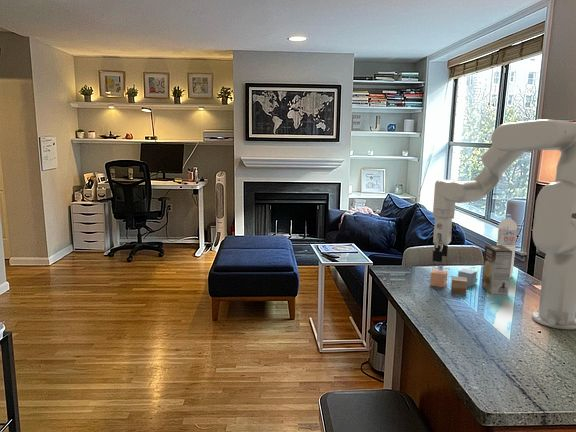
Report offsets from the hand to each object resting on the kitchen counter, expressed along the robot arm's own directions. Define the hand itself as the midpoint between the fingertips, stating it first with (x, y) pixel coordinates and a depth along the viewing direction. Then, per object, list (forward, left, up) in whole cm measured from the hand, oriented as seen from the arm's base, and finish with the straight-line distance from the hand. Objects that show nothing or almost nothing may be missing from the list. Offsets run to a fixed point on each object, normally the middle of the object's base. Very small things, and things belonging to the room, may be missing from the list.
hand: (439, 258), depth 167 cm
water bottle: (+27, -20, -10) cm, 35 cm away
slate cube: (+7, -9, -10) cm, 15 cm away
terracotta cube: (0, 0, -10) cm, 10 cm away
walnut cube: (-5, -8, -10) cm, 14 cm away
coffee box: (+4, -19, -10) cm, 22 cm away
